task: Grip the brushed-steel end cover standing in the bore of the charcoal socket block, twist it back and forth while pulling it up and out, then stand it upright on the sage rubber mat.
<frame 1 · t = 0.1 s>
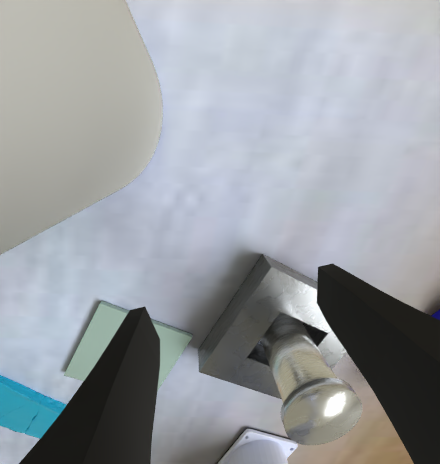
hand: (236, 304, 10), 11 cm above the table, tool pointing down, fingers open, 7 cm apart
sponge: (31, 405, 24), on the table
cylinder vase: (70, 104, 16), on the table
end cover: (278, 326, 24), resting in socket block
socket block: (278, 326, 24), on the table
mat: (129, 352, 23), on the table
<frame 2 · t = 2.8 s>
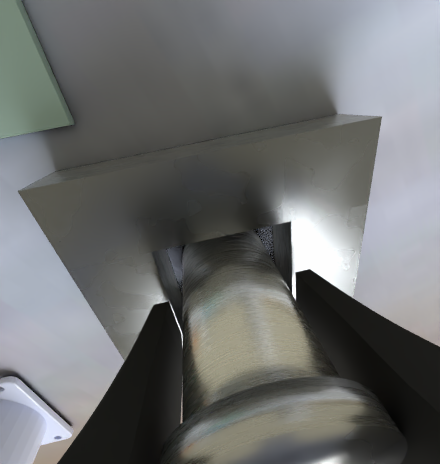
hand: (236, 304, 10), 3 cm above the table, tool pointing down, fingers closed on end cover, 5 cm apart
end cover: (223, 257, 13), resting in socket block, touching gripper
socket block: (223, 257, 13), on the table
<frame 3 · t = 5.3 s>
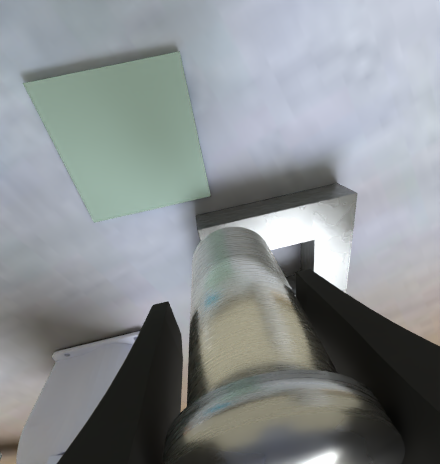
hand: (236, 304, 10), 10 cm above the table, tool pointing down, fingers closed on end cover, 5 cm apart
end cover: (231, 262, 13), point 7 cm above the table, touching gripper
socket block: (272, 257, 22), on the table
mat: (132, 147, 16), on the table
when the fingers open (5 cm above the table, at t = 7.8 s): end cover stays where it is, resting on mat.
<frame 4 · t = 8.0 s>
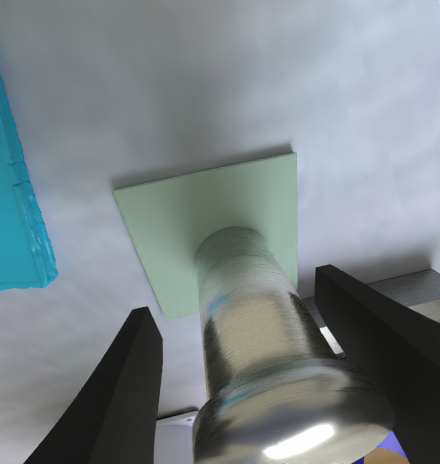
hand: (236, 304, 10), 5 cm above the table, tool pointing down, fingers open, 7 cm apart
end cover: (232, 259, 14), resting on mat
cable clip: (369, 423, 30), on the table
socket block: (346, 339, 20), on the table
mat: (220, 245, 14), on the table
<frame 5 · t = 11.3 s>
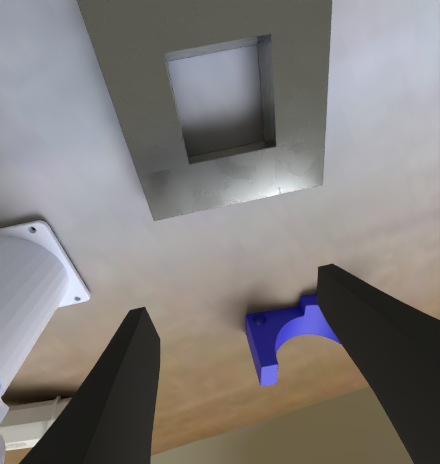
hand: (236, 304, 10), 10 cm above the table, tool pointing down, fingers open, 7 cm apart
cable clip: (296, 308, 27), on the table
socket block: (220, 105, 15), on the table
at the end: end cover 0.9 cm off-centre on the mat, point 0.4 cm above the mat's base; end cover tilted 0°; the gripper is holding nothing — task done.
